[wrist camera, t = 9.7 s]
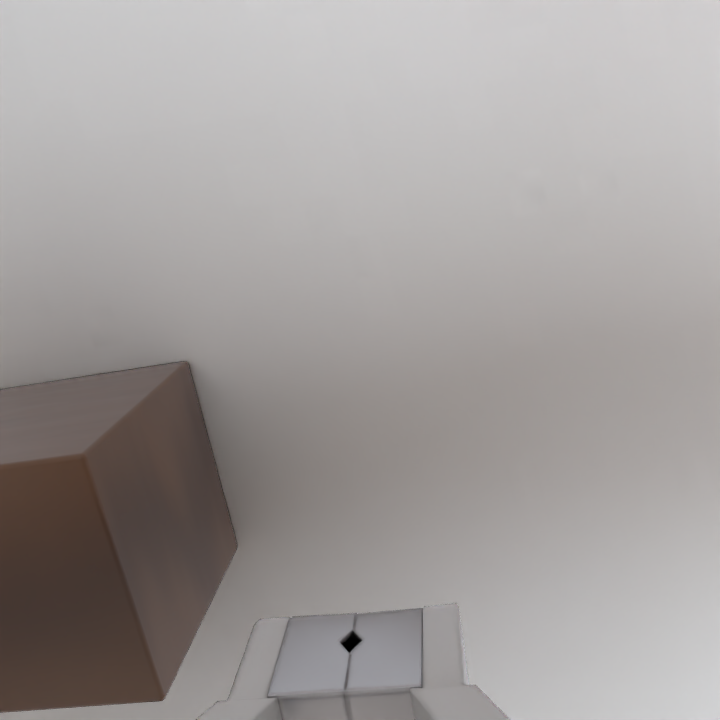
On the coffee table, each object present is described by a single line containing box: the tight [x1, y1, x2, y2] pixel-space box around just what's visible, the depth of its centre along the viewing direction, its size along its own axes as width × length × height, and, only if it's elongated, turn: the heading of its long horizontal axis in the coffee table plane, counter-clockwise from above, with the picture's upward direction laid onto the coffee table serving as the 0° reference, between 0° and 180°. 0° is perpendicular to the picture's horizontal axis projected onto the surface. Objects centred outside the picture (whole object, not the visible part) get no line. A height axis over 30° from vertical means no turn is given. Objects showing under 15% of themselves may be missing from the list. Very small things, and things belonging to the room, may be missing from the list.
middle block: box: [0, 362, 237, 713], centre depth 14 cm, size 5×5×5 cm
